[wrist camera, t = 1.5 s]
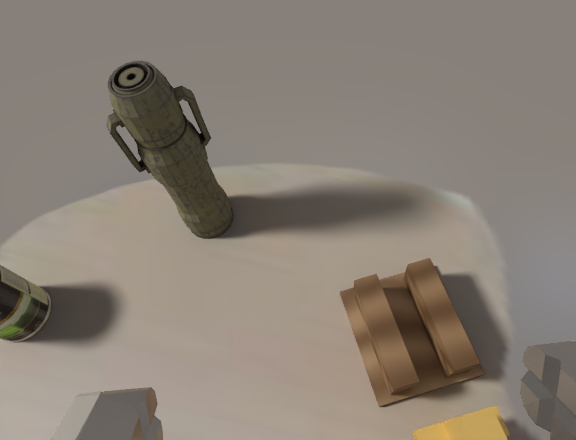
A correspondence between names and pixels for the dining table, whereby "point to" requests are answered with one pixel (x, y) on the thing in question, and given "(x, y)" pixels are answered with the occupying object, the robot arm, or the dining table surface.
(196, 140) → the thermos
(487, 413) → the yellow tall bar
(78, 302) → the dining table surface
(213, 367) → the dining table surface
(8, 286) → the coffee can
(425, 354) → the rack
